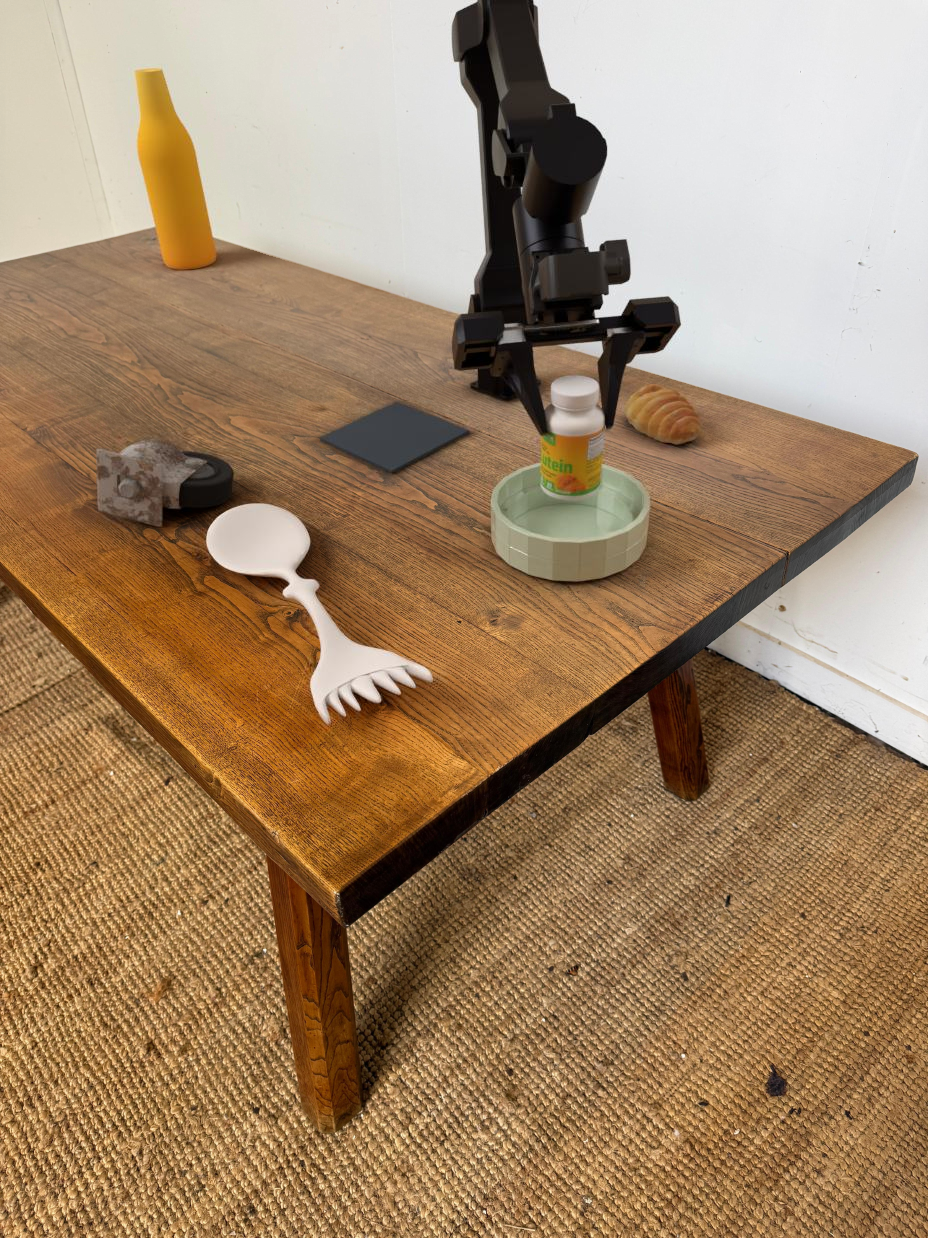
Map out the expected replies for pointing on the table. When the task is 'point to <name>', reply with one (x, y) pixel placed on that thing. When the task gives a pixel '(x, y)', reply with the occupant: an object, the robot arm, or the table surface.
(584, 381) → the supplement bottle
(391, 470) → the mat
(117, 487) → the caster wheel
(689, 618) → the table surface
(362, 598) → the table surface
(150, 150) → the beer bottle
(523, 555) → the bowl
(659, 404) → the pastry
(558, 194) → the robot arm
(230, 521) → the spoon
